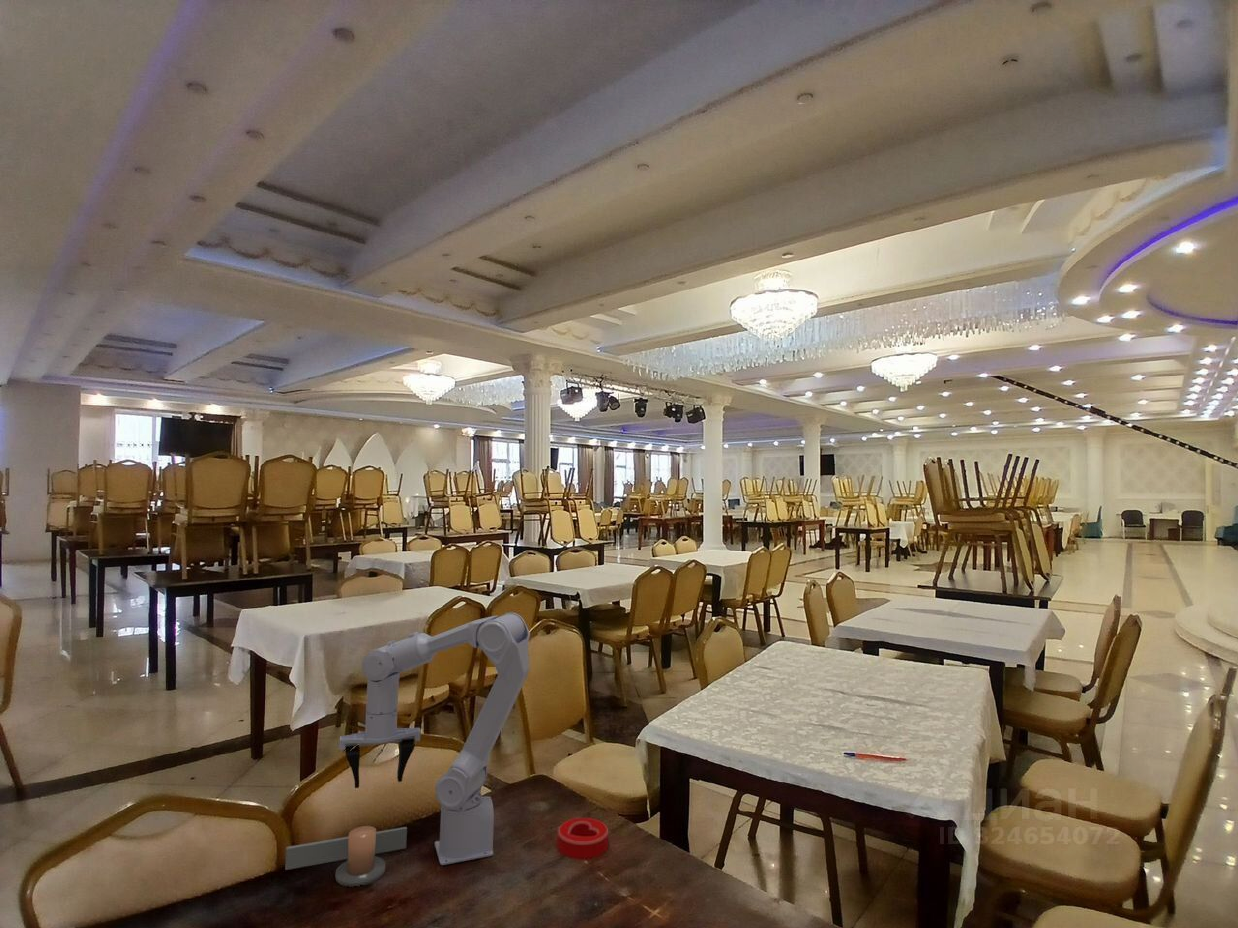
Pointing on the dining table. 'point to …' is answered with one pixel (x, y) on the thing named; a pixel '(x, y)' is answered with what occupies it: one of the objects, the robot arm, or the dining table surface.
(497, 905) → the dining table surface
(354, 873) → the terracotta cylinder
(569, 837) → the decorative ornament
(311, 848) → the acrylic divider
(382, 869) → the slate coaster
